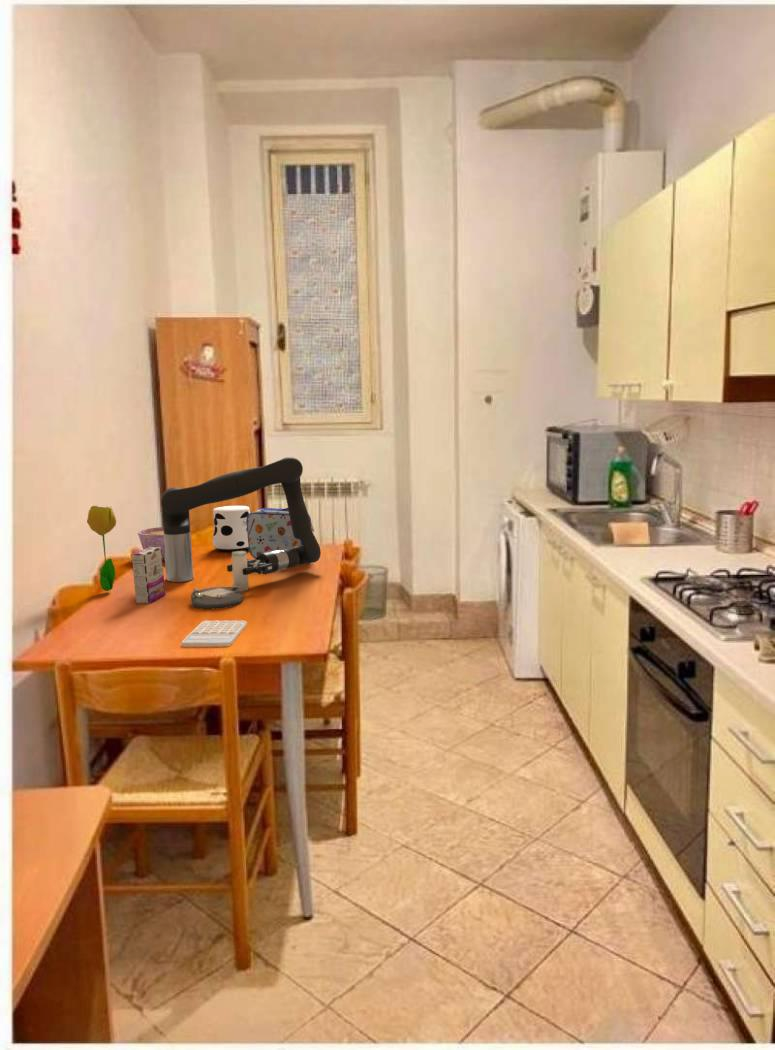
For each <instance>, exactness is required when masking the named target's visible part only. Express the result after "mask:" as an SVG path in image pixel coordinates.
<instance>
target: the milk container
mask: <svg viewBox="0 0 775 1050" xmlns="http://www.w3.org/2000/svg"><path fill="white" fill-rule="evenodd" d="M250 510H251V509H250V507H249V506H247V505H227V506H219V507H215V508H213V514H212V516H213V519H212V520H213V534H212V544H213V548H214V549H216V550H218V551H220V552H221V551H223V552H236V551H246V550H247V549H248V550H249V546H248V534H247V524H246V519H247V516H248V514H249V513H251V511H250Z"/></svg>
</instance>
